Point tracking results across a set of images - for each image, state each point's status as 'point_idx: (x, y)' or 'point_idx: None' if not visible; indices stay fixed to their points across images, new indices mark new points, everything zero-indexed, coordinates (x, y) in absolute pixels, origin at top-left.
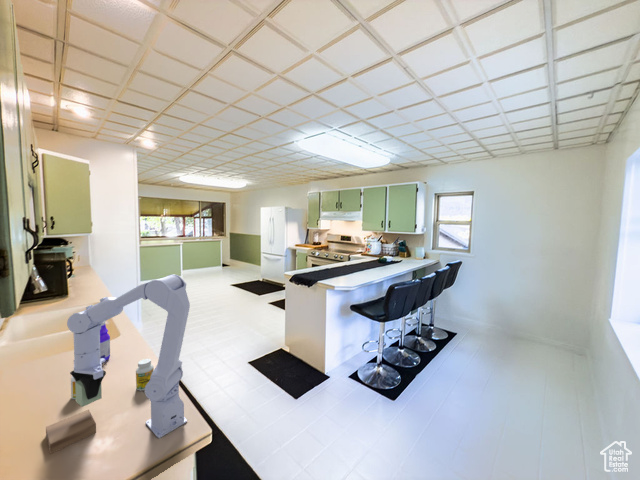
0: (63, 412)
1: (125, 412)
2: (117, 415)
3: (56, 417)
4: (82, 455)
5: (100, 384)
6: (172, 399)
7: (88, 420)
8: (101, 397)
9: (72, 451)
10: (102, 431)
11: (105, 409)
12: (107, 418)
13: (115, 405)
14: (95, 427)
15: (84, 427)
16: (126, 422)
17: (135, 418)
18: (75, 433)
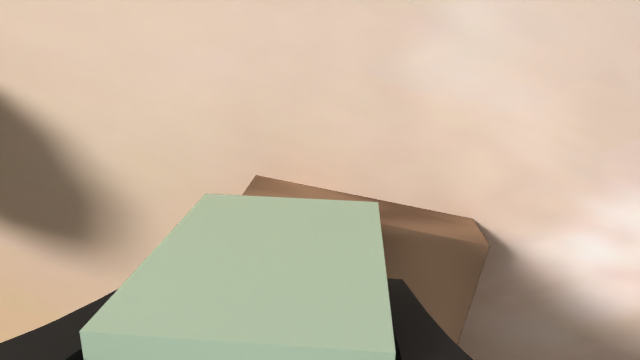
0: (43, 231)
1: (450, 7)
2: (427, 60)
3: (71, 270)
4: (605, 334)
5: (384, 298)
6: None
7: (393, 253)
8: (377, 205)
9: (513, 344)
10: (506, 196)
11: (257, 73)
12: (391, 116)
13: (272, 4)
14: (480, 236)
15: (453, 298)
16: (584, 66)
17: (612, 3)
18: (456, 342)
